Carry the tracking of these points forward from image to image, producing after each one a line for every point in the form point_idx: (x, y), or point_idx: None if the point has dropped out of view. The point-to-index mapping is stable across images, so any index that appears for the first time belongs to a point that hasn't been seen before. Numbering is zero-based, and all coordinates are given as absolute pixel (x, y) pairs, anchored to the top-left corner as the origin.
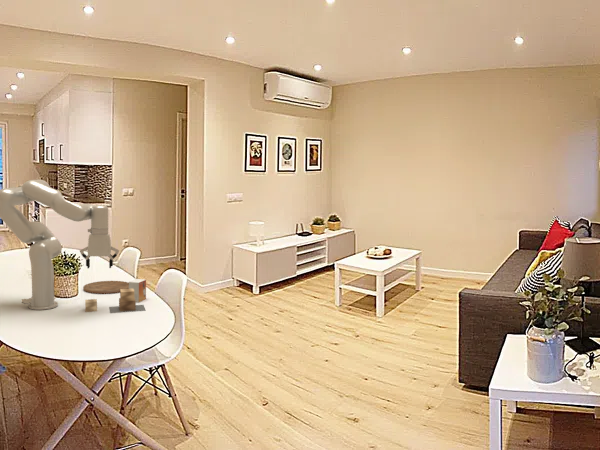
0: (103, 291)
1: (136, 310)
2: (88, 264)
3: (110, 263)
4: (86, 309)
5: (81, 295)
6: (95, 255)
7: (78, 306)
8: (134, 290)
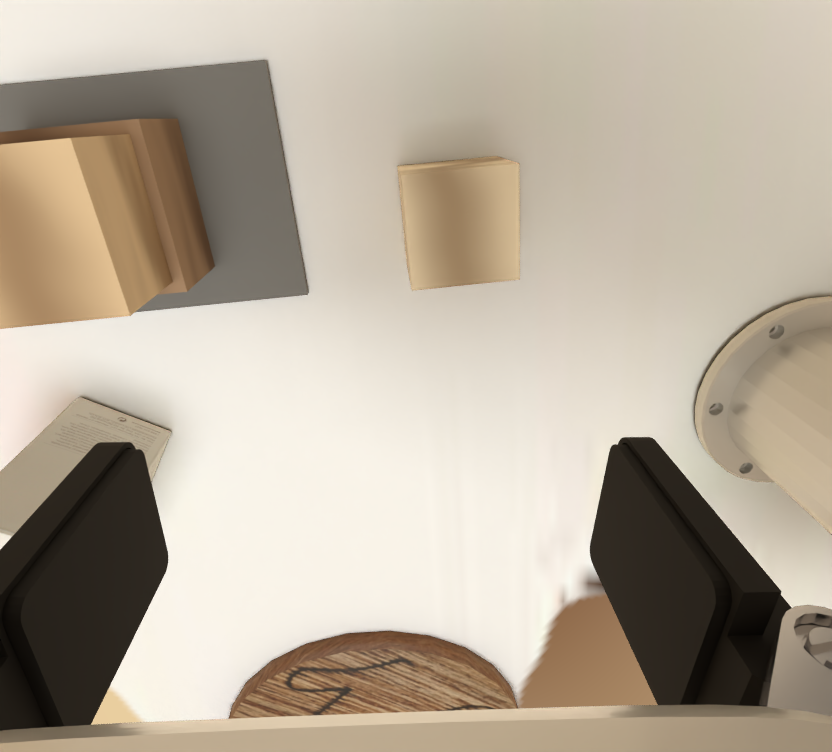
0: (390, 648)
1: (13, 119)
2: (669, 491)
3: (40, 516)
4: (493, 158)
5: (528, 615)
6: (581, 738)
7: (551, 363)
8: (62, 472)
